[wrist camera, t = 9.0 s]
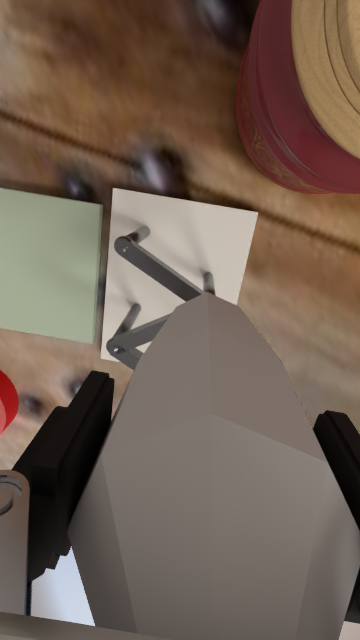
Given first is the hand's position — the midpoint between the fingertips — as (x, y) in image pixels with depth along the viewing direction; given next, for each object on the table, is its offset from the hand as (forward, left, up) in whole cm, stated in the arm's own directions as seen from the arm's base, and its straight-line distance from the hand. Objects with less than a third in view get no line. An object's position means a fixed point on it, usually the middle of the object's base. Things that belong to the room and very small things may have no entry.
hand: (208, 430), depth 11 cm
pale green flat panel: (+16, +2, -20) cm, 26 cm away
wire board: (+3, +2, -20) cm, 21 cm away
